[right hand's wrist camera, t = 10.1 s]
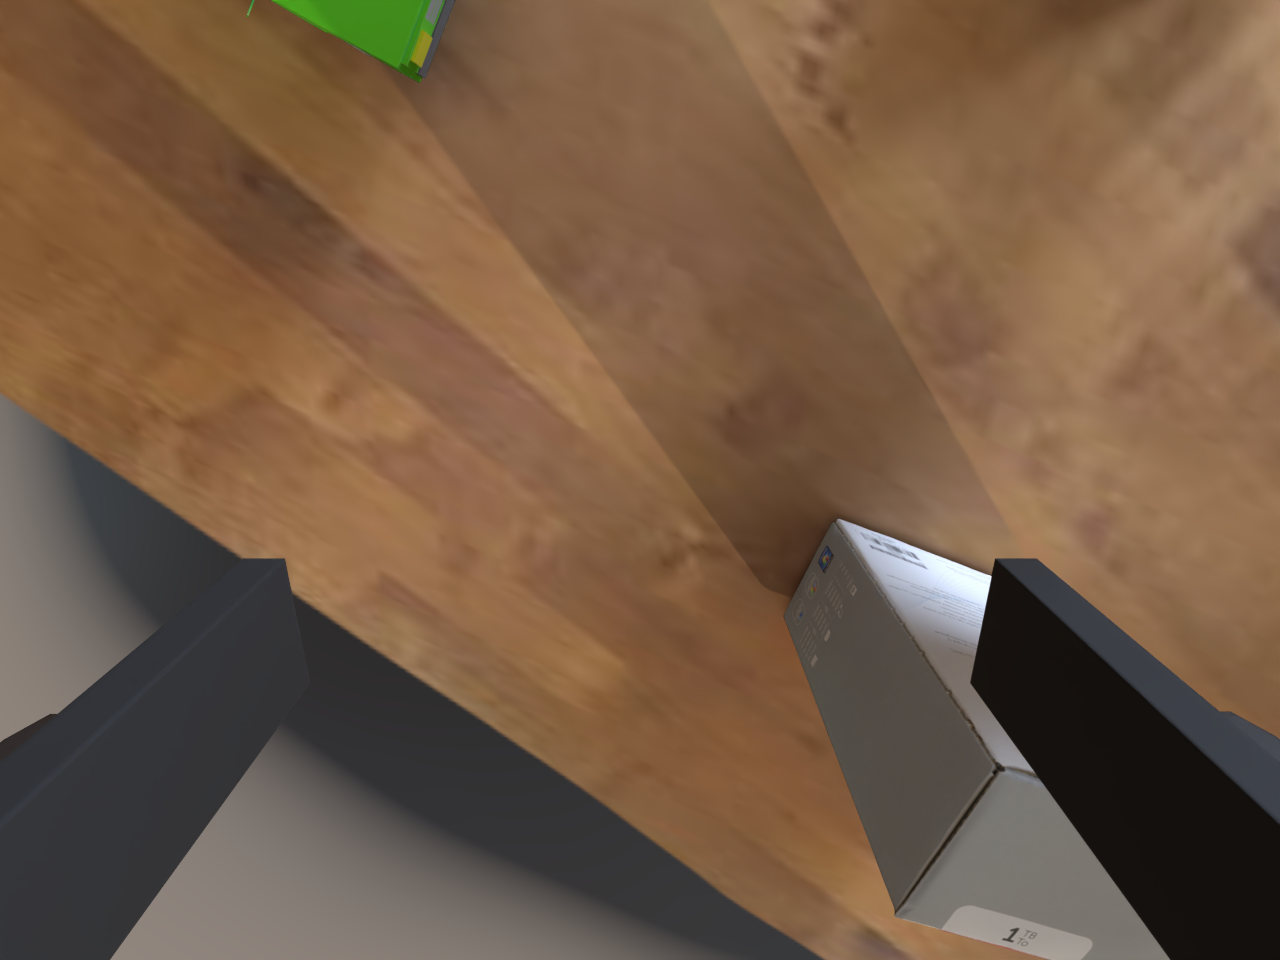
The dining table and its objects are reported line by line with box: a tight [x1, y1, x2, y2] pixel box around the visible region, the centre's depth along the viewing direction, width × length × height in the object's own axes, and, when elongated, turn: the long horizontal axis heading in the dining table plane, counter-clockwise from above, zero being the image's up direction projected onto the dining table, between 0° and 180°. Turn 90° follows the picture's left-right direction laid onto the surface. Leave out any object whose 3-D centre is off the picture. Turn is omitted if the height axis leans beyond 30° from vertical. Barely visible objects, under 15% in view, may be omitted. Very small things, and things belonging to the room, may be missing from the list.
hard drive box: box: [784, 519, 1170, 960], centre depth 33 cm, size 16×8×20 cm, turn 69°
